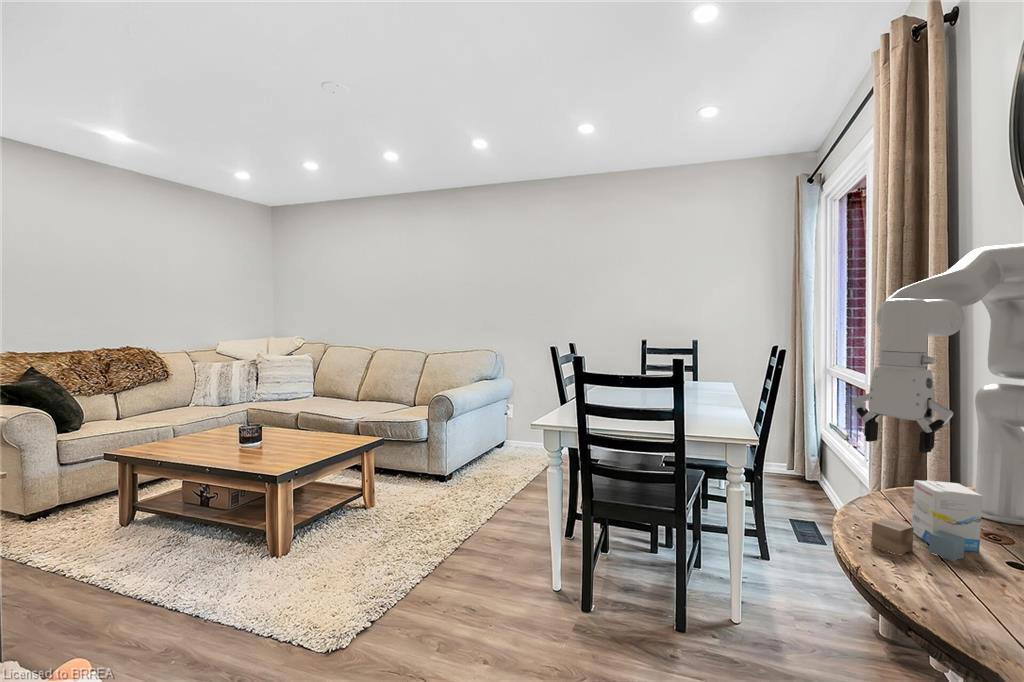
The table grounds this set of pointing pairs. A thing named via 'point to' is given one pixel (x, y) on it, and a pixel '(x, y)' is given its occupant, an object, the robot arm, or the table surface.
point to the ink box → (947, 511)
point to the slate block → (947, 545)
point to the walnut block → (892, 536)
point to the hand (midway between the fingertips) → (897, 446)
